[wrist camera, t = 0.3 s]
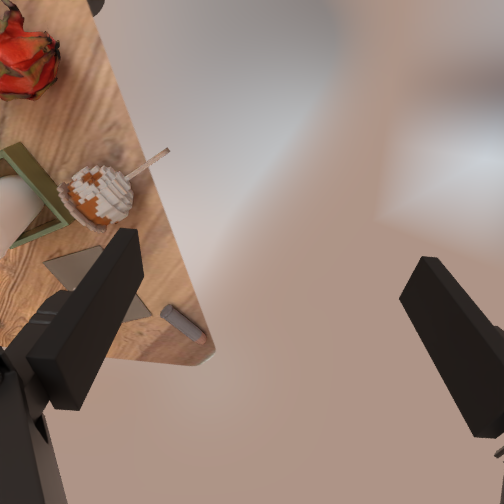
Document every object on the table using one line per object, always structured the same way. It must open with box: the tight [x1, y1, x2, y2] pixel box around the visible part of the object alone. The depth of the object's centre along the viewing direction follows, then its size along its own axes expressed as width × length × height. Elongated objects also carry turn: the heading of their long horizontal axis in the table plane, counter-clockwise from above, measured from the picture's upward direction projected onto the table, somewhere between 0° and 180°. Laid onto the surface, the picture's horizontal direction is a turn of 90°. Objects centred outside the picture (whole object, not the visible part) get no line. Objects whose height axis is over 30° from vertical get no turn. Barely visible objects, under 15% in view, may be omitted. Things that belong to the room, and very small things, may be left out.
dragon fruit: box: [0, 0, 60, 101], centre depth 32 cm, size 8×8×12 cm
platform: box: [43, 246, 152, 323], centre depth 54 cm, size 12×18×7 cm, turn 18°
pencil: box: [160, 305, 207, 344], centre depth 60 cm, size 11×3×3 cm, turn 35°
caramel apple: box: [57, 148, 170, 233], centre depth 41 cm, size 8×8×15 cm
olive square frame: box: [0, 142, 75, 249], centre depth 44 cm, size 12×12×4 cm
